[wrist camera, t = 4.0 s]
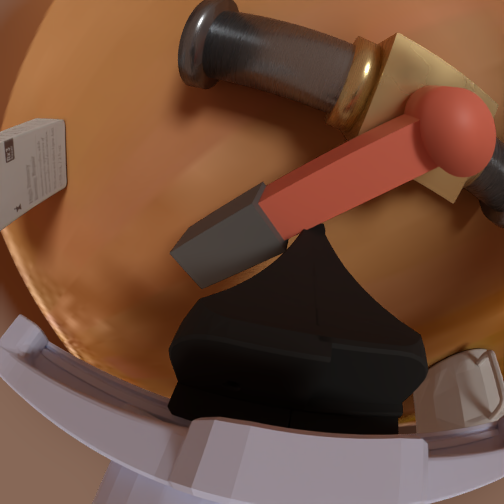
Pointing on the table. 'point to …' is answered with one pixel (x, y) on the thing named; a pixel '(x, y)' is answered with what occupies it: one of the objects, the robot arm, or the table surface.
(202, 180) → the table surface
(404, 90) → the valve body
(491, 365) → the mug
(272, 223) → the lever
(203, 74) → the pipe
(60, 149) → the skincare box
